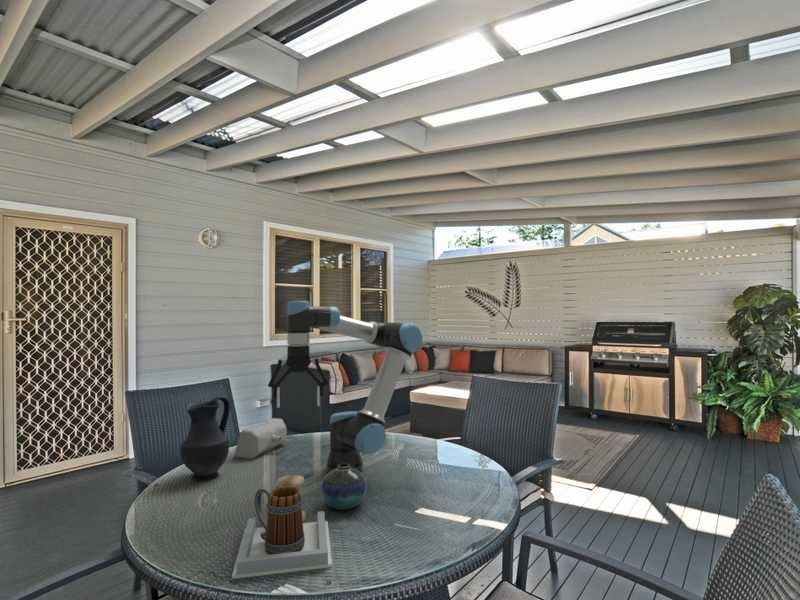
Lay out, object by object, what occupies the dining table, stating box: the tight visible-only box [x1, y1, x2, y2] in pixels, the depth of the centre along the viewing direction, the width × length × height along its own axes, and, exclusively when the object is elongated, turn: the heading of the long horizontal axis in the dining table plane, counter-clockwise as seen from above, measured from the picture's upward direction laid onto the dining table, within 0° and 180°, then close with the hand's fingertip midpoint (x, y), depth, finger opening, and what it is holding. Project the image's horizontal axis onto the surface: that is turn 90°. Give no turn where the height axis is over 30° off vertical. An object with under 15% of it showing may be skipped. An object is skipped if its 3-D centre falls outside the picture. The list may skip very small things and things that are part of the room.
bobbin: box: [277, 474, 307, 522], centre depth 142 cm, size 9×9×12 cm
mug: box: [253, 486, 305, 555], centre depth 124 cm, size 16×11×15 cm
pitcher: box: [180, 395, 231, 482], centre depth 180 cm, size 17×21×30 cm
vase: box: [320, 463, 368, 511], centre depth 152 cm, size 15×15×13 cm
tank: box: [233, 417, 288, 460], centre depth 211 cm, size 25×16×12 cm, turn 161°
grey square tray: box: [231, 510, 333, 580], centre depth 125 cm, size 24×24×4 cm
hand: (298, 406), depth 158 cm, fingers open, 13 cm apart
